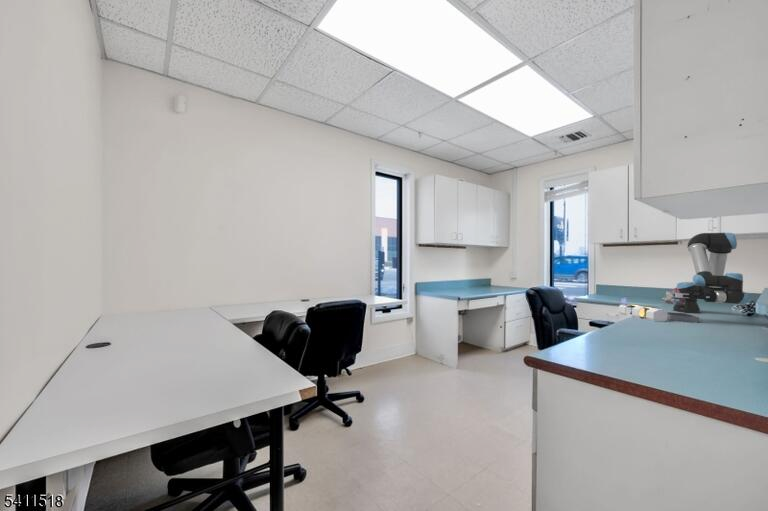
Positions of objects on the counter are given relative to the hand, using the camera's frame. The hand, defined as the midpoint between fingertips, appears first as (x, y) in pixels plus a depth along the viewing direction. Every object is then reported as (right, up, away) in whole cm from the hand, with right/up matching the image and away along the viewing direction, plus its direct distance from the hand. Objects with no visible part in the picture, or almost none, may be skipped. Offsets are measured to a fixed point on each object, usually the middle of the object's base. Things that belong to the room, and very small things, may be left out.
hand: (671, 294), depth 207 cm
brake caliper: (+2, -7, -1) cm, 7 cm away
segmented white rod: (-17, -17, +3) cm, 24 cm away
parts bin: (+3, -17, -1) cm, 17 cm away
